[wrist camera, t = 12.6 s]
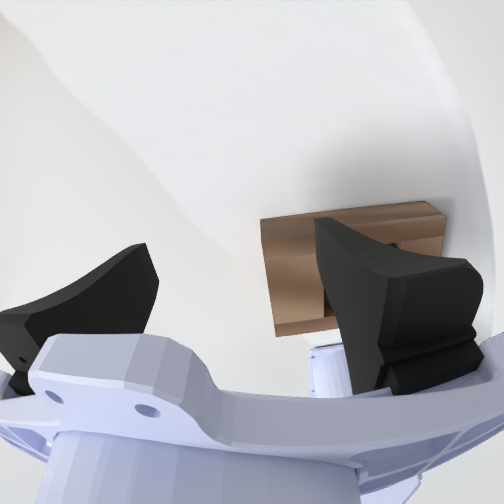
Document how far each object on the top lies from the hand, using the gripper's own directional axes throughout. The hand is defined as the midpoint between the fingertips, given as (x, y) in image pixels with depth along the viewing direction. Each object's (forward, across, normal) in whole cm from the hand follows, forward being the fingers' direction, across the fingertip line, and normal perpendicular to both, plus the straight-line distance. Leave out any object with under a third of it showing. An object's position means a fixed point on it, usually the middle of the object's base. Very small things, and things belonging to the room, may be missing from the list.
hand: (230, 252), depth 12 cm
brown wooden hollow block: (+10, -8, +8) cm, 15 cm away
